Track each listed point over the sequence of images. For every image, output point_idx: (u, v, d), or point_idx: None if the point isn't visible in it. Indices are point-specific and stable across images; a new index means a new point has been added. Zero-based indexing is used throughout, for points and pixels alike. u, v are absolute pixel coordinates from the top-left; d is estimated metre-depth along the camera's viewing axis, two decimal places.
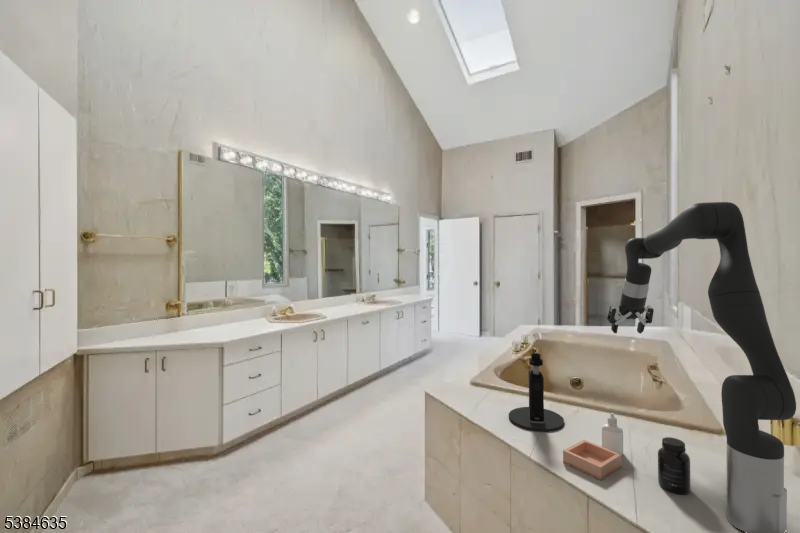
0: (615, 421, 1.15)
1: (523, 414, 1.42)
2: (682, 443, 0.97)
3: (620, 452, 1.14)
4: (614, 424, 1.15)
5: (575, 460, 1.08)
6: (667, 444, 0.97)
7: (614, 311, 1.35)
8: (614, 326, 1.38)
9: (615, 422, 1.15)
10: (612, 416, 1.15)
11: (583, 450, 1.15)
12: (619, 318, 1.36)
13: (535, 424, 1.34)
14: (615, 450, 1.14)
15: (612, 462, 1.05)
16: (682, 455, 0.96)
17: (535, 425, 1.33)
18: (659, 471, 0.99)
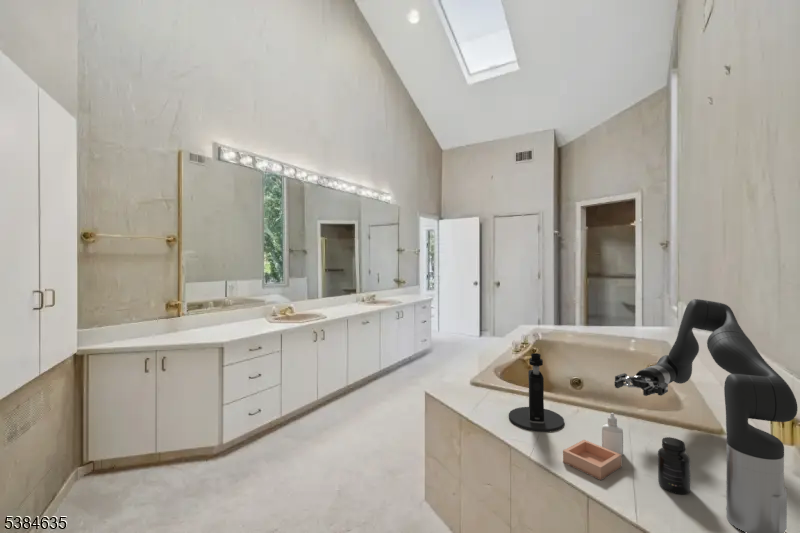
0: (615, 421, 1.15)
1: (523, 414, 1.42)
2: (682, 443, 0.97)
3: (620, 452, 1.14)
4: (614, 424, 1.15)
5: (575, 460, 1.08)
6: (667, 444, 0.97)
7: (624, 374, 1.32)
8: (618, 380, 1.28)
9: (615, 422, 1.15)
10: (612, 416, 1.15)
11: (583, 450, 1.15)
12: None
13: (535, 424, 1.34)
14: (615, 450, 1.14)
15: (612, 462, 1.05)
16: (682, 455, 0.96)
17: (535, 425, 1.33)
18: (659, 471, 0.99)
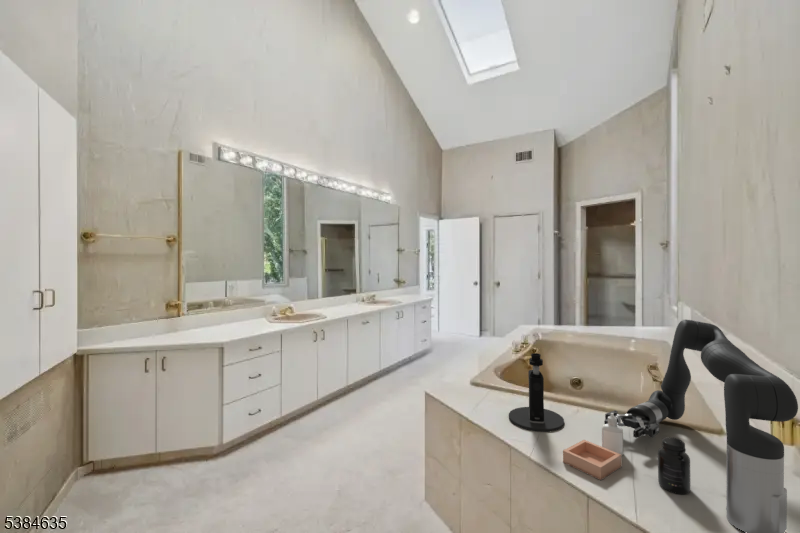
0: (615, 421, 1.15)
1: (523, 414, 1.42)
2: (682, 443, 0.97)
3: (620, 452, 1.14)
4: (614, 424, 1.15)
5: (575, 460, 1.08)
6: (667, 444, 0.97)
7: (615, 411, 1.29)
8: None
9: (615, 422, 1.15)
10: (612, 416, 1.15)
11: (583, 450, 1.15)
12: None
13: (535, 424, 1.34)
14: (615, 450, 1.14)
15: (612, 462, 1.05)
16: (682, 455, 0.96)
17: (535, 425, 1.33)
18: (659, 471, 0.99)
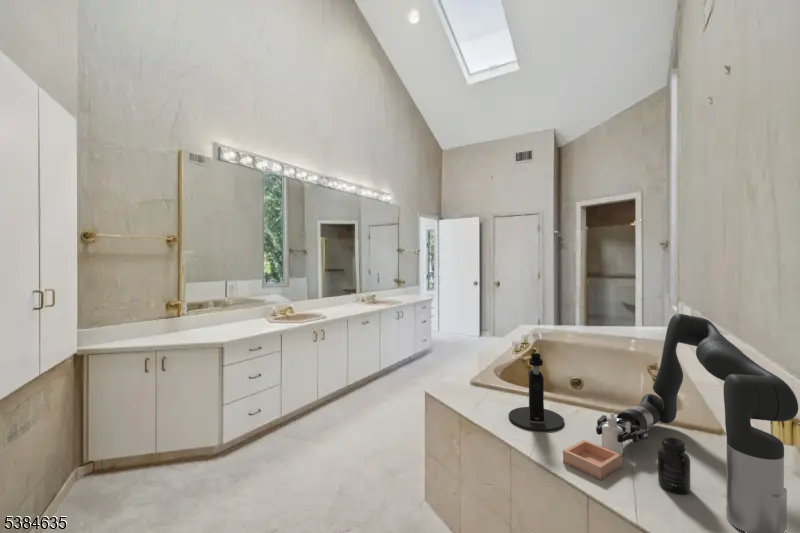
0: (615, 421, 1.15)
1: (523, 414, 1.42)
2: (682, 443, 0.97)
3: (620, 452, 1.14)
4: (614, 424, 1.15)
5: (575, 460, 1.08)
6: (667, 444, 0.97)
7: (604, 416, 1.25)
8: None
9: (615, 422, 1.15)
10: (612, 416, 1.15)
11: (583, 450, 1.15)
12: None
13: (535, 424, 1.34)
14: (615, 450, 1.14)
15: (612, 462, 1.05)
16: (682, 455, 0.96)
17: (535, 425, 1.33)
18: (659, 471, 0.99)
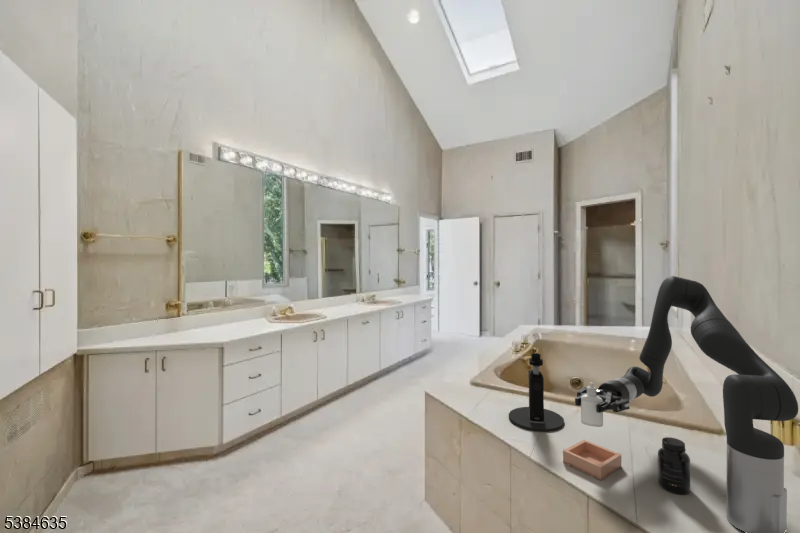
0: (594, 391, 1.08)
1: (523, 414, 1.42)
2: (682, 443, 0.97)
3: (600, 424, 1.07)
4: (593, 394, 1.08)
5: (575, 460, 1.08)
6: (667, 444, 0.97)
7: (584, 388, 1.18)
8: None
9: (594, 392, 1.08)
10: (591, 386, 1.09)
11: (583, 450, 1.15)
12: None
13: (535, 424, 1.34)
14: (594, 422, 1.08)
15: (612, 462, 1.05)
16: (682, 455, 0.96)
17: (535, 425, 1.33)
18: (659, 471, 0.99)
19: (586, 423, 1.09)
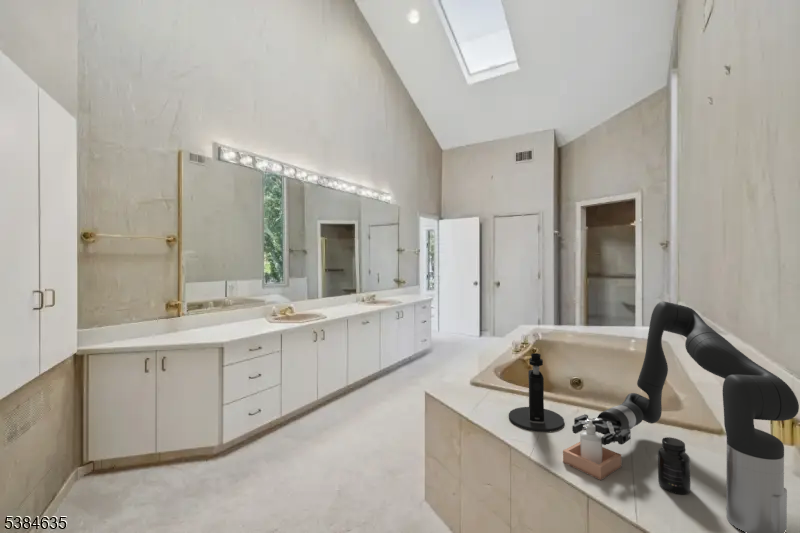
0: (593, 429, 1.08)
1: (523, 414, 1.42)
2: (682, 443, 0.97)
3: (600, 462, 1.08)
4: (592, 432, 1.08)
5: (575, 460, 1.08)
6: (667, 444, 0.97)
7: (585, 415, 1.19)
8: (577, 424, 1.14)
9: (594, 430, 1.08)
10: (590, 424, 1.09)
11: None
12: None
13: (535, 424, 1.34)
14: (594, 460, 1.08)
15: (612, 462, 1.05)
16: (682, 455, 0.96)
17: (535, 425, 1.33)
18: (659, 471, 0.99)
19: None
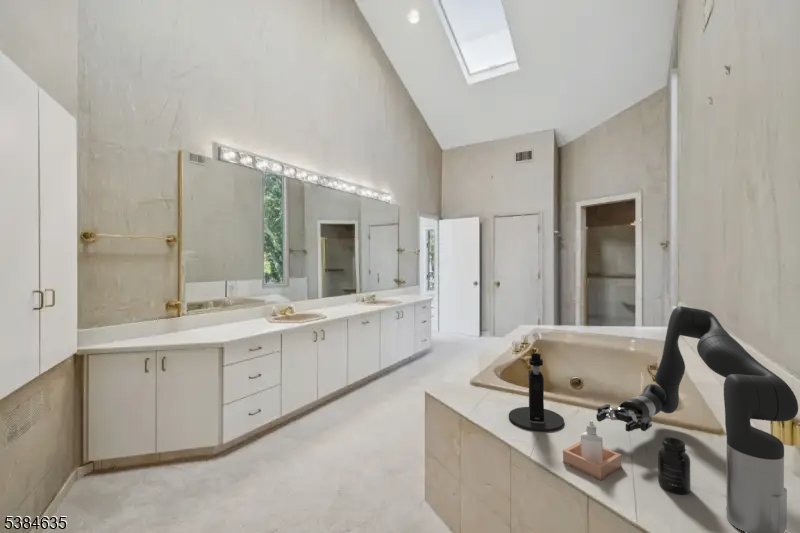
0: (594, 429, 1.08)
1: (523, 414, 1.42)
2: (682, 443, 0.97)
3: (600, 462, 1.08)
4: (593, 432, 1.08)
5: (575, 460, 1.08)
6: (667, 444, 0.97)
7: (607, 405, 1.26)
8: (600, 413, 1.21)
9: (594, 430, 1.08)
10: (591, 424, 1.09)
11: None
12: None
13: (535, 424, 1.34)
14: (594, 460, 1.08)
15: (612, 462, 1.05)
16: (682, 455, 0.96)
17: (535, 425, 1.33)
18: (659, 471, 0.99)
19: None
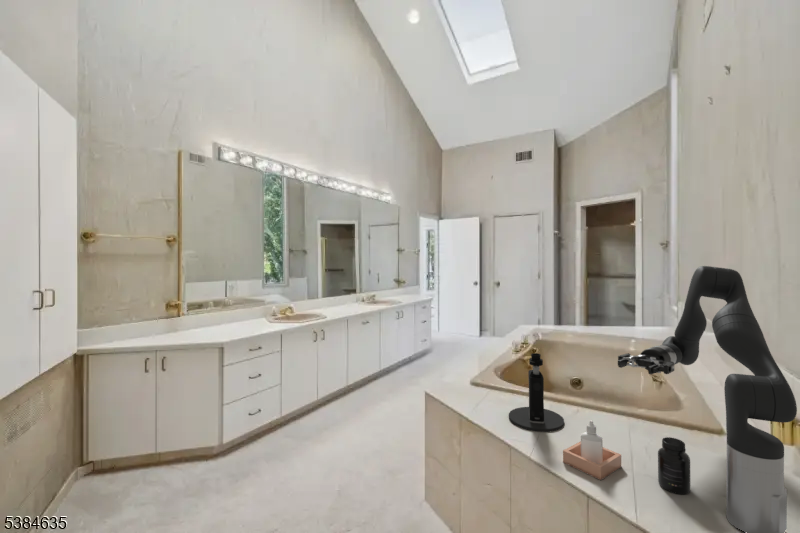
0: (594, 429, 1.08)
1: (523, 414, 1.42)
2: (682, 443, 0.97)
3: (600, 462, 1.08)
4: (593, 432, 1.08)
5: (575, 460, 1.08)
6: (667, 444, 0.97)
7: (627, 354, 1.25)
8: None
9: (594, 430, 1.08)
10: (591, 424, 1.09)
11: None
12: None
13: (535, 424, 1.34)
14: (594, 460, 1.08)
15: (612, 462, 1.05)
16: (682, 455, 0.96)
17: (535, 425, 1.33)
18: (659, 471, 0.99)
19: None
